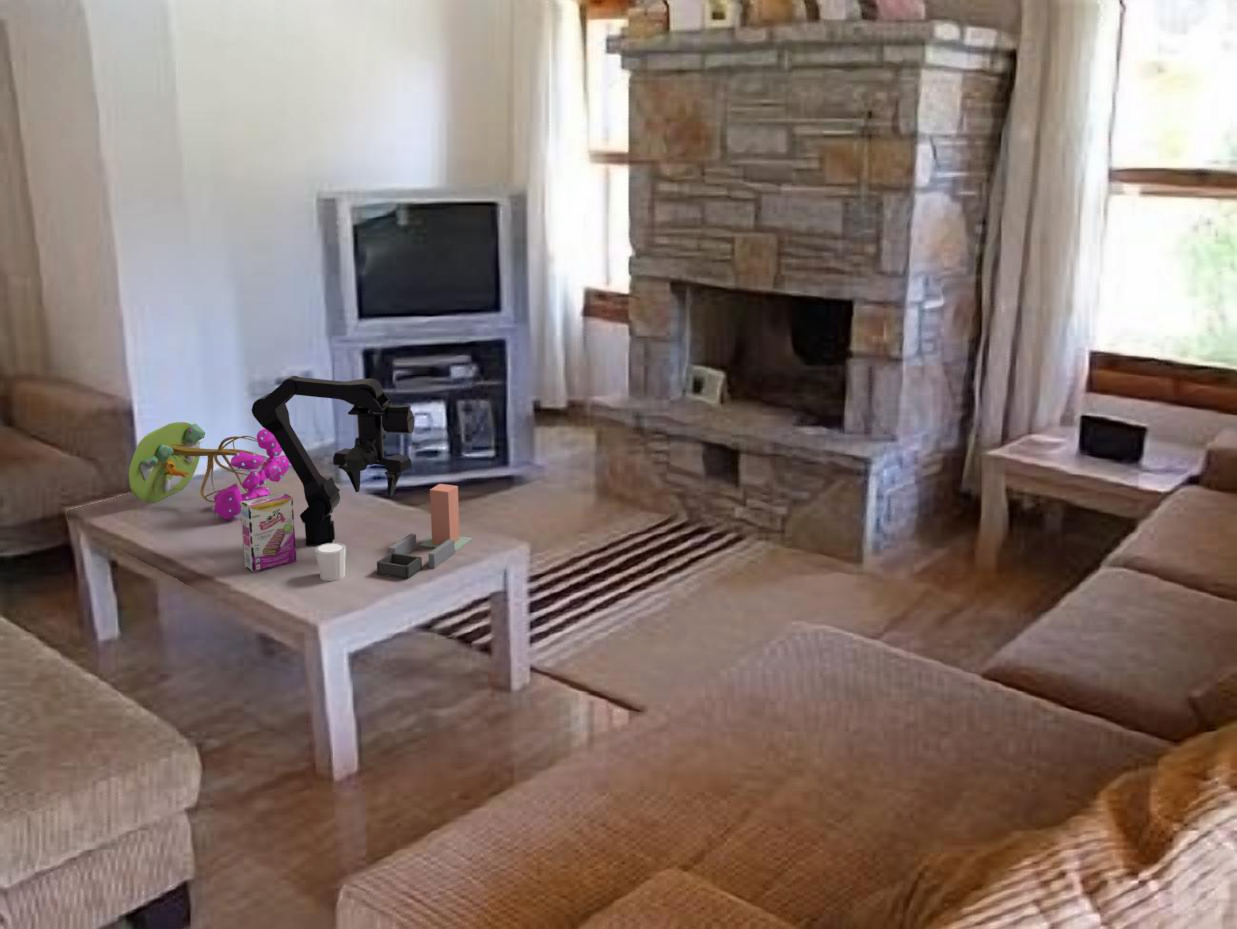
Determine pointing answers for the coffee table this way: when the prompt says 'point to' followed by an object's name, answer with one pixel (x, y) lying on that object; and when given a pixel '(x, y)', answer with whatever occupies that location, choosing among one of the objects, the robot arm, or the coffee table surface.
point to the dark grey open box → (399, 565)
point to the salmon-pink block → (444, 513)
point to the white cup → (331, 561)
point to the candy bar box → (268, 531)
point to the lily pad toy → (175, 456)
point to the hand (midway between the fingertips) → (373, 494)
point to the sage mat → (457, 544)
